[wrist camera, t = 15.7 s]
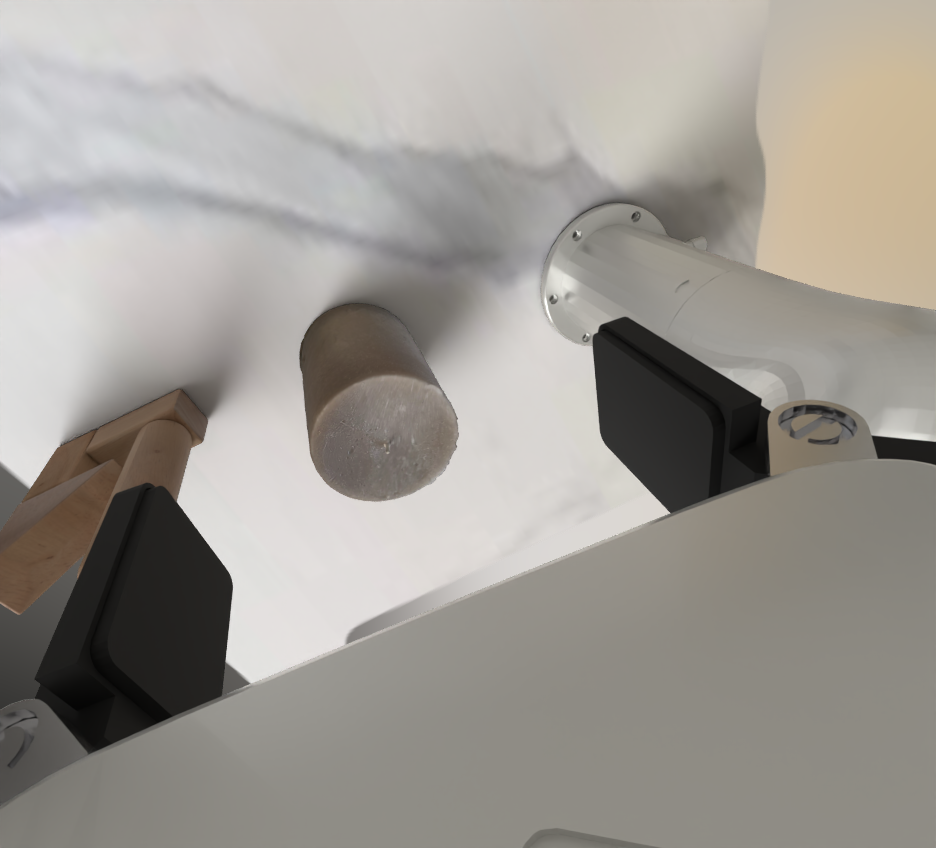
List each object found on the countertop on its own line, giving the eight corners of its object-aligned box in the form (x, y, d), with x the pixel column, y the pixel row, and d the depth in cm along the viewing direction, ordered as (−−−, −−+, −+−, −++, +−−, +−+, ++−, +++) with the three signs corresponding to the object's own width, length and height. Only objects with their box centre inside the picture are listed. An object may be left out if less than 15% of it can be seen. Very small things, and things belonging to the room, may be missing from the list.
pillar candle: (277, 376, 43) (278, 486, 31) (339, 277, 40) (367, 355, 28) (376, 423, 48) (410, 533, 36) (437, 338, 45) (495, 426, 33)
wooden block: (54, 447, 40) (-75, 641, 26) (181, 385, 41) (124, 542, 26) (90, 478, 43) (-10, 675, 28) (210, 420, 43) (173, 582, 28)
